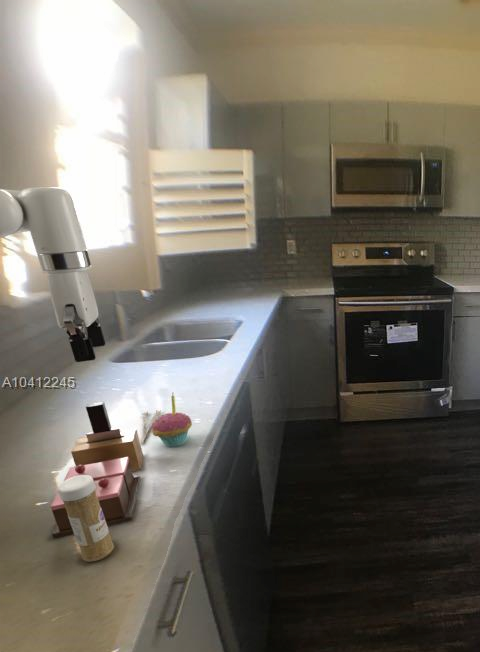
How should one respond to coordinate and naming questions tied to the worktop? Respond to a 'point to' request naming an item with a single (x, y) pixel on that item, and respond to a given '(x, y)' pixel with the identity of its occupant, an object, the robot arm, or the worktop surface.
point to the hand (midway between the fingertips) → (91, 353)
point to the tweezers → (149, 424)
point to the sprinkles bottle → (86, 517)
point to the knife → (100, 424)
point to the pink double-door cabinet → (103, 493)
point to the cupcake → (172, 427)
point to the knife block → (110, 450)
